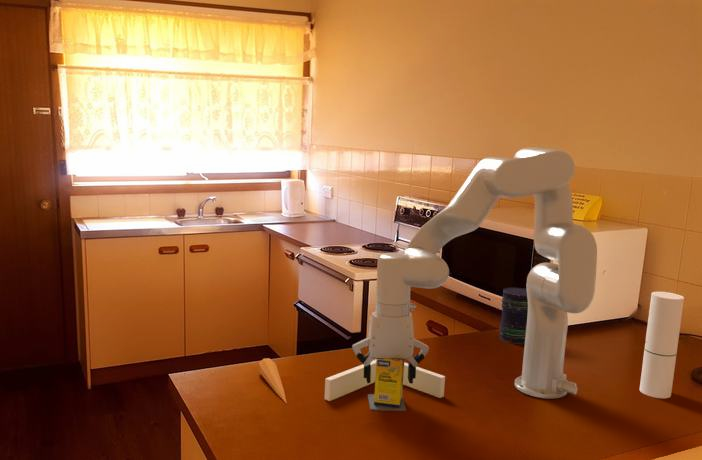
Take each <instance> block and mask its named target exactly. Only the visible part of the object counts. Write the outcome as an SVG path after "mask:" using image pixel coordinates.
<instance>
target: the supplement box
mask: <svg viewBox="0 0 702 460" xmlns="http://www.w3.org/2000/svg"><path fill="white" fill-rule="evenodd" d="M375 360H376V359H375ZM405 360H406V359H377V360H376V378H375V382H374V394H375V395H374V405H378V406H387V407H395V408H399V407H400V402H401V399H402V398H403V390H404V388H403V387H404V385H403V375H404V362H405Z"/></svg>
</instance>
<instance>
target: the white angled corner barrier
mask: <svg viewBox="0 0 702 460" xmlns="http://www.w3.org/2000/svg"><path fill="white" fill-rule="evenodd" d="M376 360H377V359H376V358H375V359H374V360H373V361H372V362H371V363H370V365H371V380H370V383H367V380H366V378H364V364H363V363H362V364H360V365H358V366H355V367H352V368H349V369H347V370H344V371H342V372H339V373H336V374H334V375H331V376H329V377H326V378H325V379H324V400H326V401H328V402H331V401H333V400H336V399H338V398H340V397H343V396H345V395H347V394H351V393H352V392H355V391H357V390H359V389H361V388H364V387H367V386H369V385H371V384H375V378H376ZM408 363H409V362H406V361H404V375H403V386H407V387H410V388H412V389H415V390H417V391H420V392H422V393H425V394H428V395H431V396H433V397H435V398H438V399H441V398H444V397H445V384H446V383H445V382H446V375H443V374H440V373H437V372H433V371H431V370H428V369H424V368H422V367H419V366H417V367H416V377H415V379H413V384H410V383H409V380H408Z"/></svg>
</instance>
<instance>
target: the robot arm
mask: <svg viewBox="0 0 702 460" xmlns="http://www.w3.org/2000/svg"><path fill="white" fill-rule="evenodd" d="M575 171H576V165H575V161H574V158H573V157H572V156H571V155H570V154H569V153H568V152H566V151H565V150H561V149H555V148H546V147H539V146H538V147H534V146H531V147H524V148H521V149H519V150H517V152H516V153H515V154H514V156H513V158H507V157H500V156H499V157H498V156H489V157H488V156H487V157H485V158H483V159H481V160H480V161H479V162H477V164H476V165H475V167H474V168H472V171H471V172H470V173H469V175H468V176H467V178H466V179H465V181H464V182H463V183H462V185H461V186H460V188H459V189H458V191H457V192H456V193H455V195H454V196H453V197H452V199H451V200H450V201H449V203H448V204H447V205H446V206H445V207H444V209H441V211H439V212H438V213H436V215H433V217H432V218H431V219H429V220H428V221H427V222H426V223H424V224H423V225H422V226H421V227H420V228H419V229H418V230H417V231H416V232H415V234H414V235H413V237H412V238H411V240H410V241H409V242H408V244H407V245H406V247H405V248H404V250H403V252H402V253H400V252H386V253H385V252H384V253H382V254H381V255H379V257H378V258H377V267H376V288H375V289H376V293H375V294H376V295H375V310H374V311H372V312H371V315H370V317H371V319H370V320H369V325H368V336H367V337H366V338H364V339H361V340H359V341H358V342H356V343H353V344H352V346H351V347H352V350H353V352H354V355H355V356H356V358H357V359H358V360H359V362H361V363H362V365H363V364H364V378H366V380H367V383H370V380H371V365H370V363H371V362H372V361H373V360H376V359H405V360H408V361H409V362H407V363H408V380H409V383H410V384H413V379H415V377H416V367H419V364H420V363H421V362H422V361H423V360H424V359H425V358H426V357H425V356H427V354H428V352H429V350H430V348H429V347H430V346H428V345H427V344H426V343H424V342H422V341H420V340H418V339H417V338H415V337H414V336H415V335H414V333H415V332H414V322H413V315H412V313H411V311H413V310H416V309H417V304H416V303H412V302H411V288H421V289H437V288H439V287H441V286H442V285H444V284H445V283H446V282H447V280H448V278H449V275H450V274H449V273H450V269H449V266H448V264H447V262H446V261H445V260H444V259H443V258H442V257H440V256H438V255H437V254H438V253H439V251H441V249H442V248H443V247H444V246H445V245H446V244H447V243H449V242H450V241H452V240H453V239H455V238H457V237H461V236H463V235H466V234H468V233H471V232H474V231H475V230H477V229H478V228H479V227H480V226H481V225H482V223H483V221H484V220H485V219H486V217H487V216H488V215H489V213H490V212H491V210H492V209H493V208H494V206H495V204H496V203H497V202H498V200H499V199H500V198H501V197H502V198H507V199H516V198H517V199H518V198H525V197H529V196H533V198H534V230H533V231H534V232H533V233H534V235H533V242H534V243H533V244H534V249H535V251H536V253H538V254H539V255H540V256H542V257H544V258H546V259H548V260H551V261H554V262H557V263H558V264H557V263H554V262H540V263H539V264H536V265H535V266H533V267H532V268H531V270H530V271H529V273H528V274H527V277H526V284H525V285H526V289H527V299H528V315H527V326H526V336H525V344H524V348H523V349H524V350H523V359H522V368H521V369H522V371H521V375H519V376H518V377H516V378H515V379H514V386H515V388H516V389H517V390H518V391H519V392H521V393H523V394H526V395H529V396H530V397H534V398H538V399H539V398H540V399H551V400H552V399H559V398H563V397H565V396H566V395H567V394H573V395H576V394H577V392H578V386H577V383H576V382H573V381H570V380H569V381H568V379H567V374H566V373H564V363H565V353H566V342H567V333H568V326H569V325H568V324H569V321H568V320H569V317H568V313H569V314H581V313H583V312H584V311H586V310H587V309H588V308H589V307H591V306H590V305H591V304H592V302H593V300H594V297H595V292H596V283H597V282H596V278H597V263H598V261H597V260H598V245H597V241H596V239H595V236H594V235H593V233H592V232H591V231H590V230H589V229H588V228H587V227H585V226H582V225H579V224H577V223H574V220H573V219H574V216H573V215H574V209H573V208H574V207H573V206H574V205H573V202H574V201H573V193H572V189H571V186H570V184H569V182H571V180H572V178H573V177H574V174H575ZM366 347H367V351H368V352H367V353H366V354H363V353H362V352H361V349H363V348H366ZM415 347H416V348H417V349H420V351H419V352H418V353H417V354H416V355H414V353H415V352H414V350H415Z"/></svg>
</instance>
